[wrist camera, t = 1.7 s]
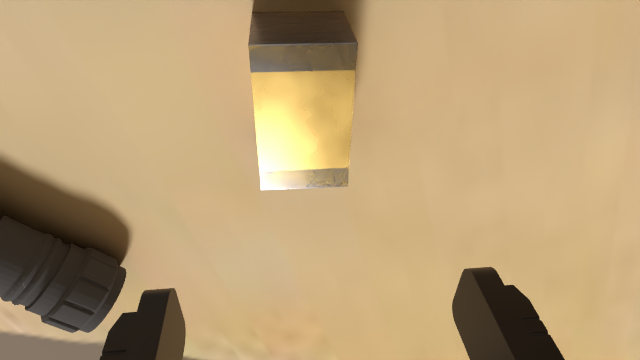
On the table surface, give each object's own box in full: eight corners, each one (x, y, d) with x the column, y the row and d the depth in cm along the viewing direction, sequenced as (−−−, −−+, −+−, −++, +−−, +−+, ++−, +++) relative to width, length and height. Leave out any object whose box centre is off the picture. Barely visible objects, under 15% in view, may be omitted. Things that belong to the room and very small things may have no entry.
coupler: (251, 12, 21) (248, 44, 17) (343, 11, 21) (357, 42, 18) (262, 143, 26) (261, 190, 22) (336, 140, 26) (347, 186, 22)
